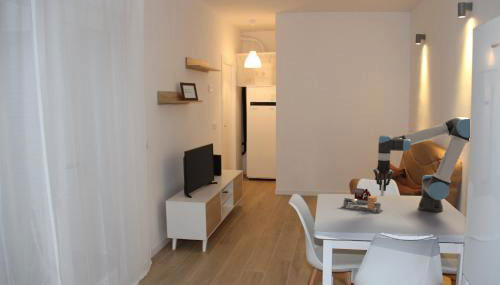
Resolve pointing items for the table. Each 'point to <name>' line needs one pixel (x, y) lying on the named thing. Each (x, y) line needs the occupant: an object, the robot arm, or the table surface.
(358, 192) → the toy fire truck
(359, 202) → the rail
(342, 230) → the table surface
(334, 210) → the table surface
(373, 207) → the collar
